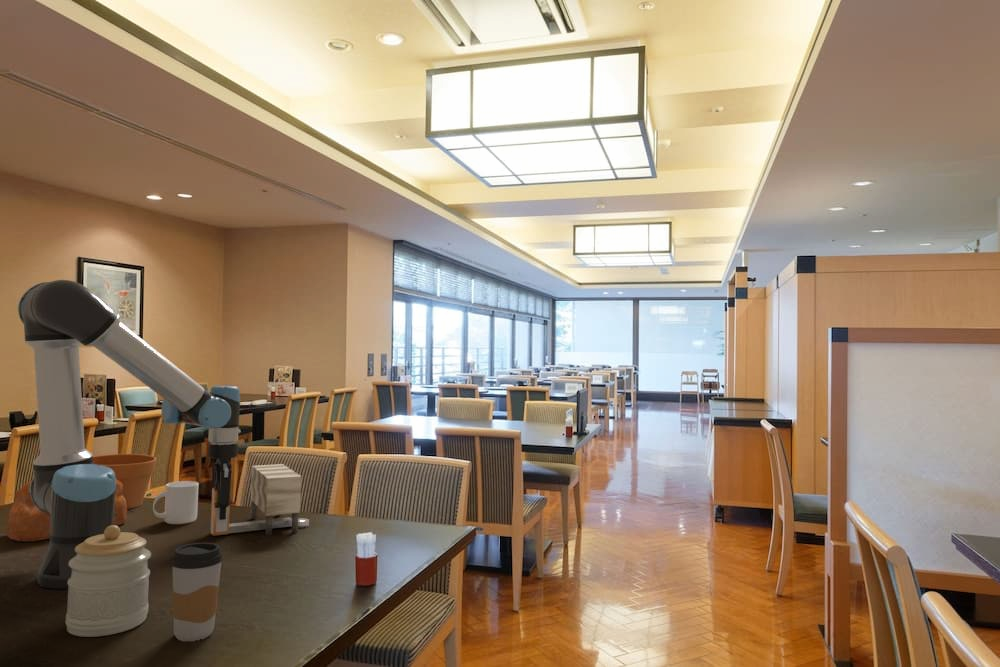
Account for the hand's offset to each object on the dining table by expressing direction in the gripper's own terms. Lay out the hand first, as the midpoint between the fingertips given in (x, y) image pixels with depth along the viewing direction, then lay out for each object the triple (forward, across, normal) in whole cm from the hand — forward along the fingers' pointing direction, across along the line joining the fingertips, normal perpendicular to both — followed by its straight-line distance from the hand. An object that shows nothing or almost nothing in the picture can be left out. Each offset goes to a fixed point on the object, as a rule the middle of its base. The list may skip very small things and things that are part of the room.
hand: (219, 528), depth 178 cm
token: (+2, 0, -22) cm, 22 cm away
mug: (+2, +19, +9) cm, 21 cm away
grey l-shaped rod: (+1, 0, -8) cm, 9 cm away
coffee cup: (+2, -65, +14) cm, 66 cm away
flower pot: (+2, +47, +23) cm, 52 cm away
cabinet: (+2, +4, -15) cm, 16 cm away
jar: (+2, -53, +27) cm, 59 cm away
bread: (+2, +21, +35) cm, 41 cm away
